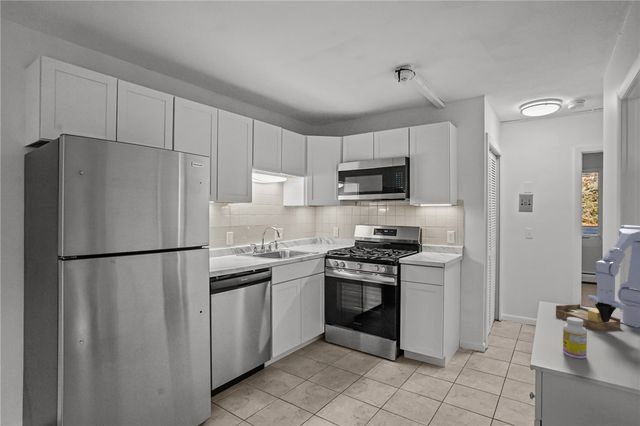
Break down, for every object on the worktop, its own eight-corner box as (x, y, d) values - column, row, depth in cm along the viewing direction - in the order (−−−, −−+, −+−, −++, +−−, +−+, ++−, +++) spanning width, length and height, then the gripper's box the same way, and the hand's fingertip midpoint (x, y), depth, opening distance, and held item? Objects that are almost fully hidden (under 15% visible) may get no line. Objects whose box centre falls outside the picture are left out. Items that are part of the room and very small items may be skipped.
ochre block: (595, 318, 147) (595, 309, 146) (604, 321, 143) (604, 312, 142) (587, 319, 146) (587, 310, 146) (596, 322, 142) (596, 312, 142)
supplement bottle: (563, 349, 122) (564, 314, 122) (586, 354, 118) (587, 318, 118) (562, 355, 117) (562, 319, 117) (586, 361, 113) (586, 323, 113)
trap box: (578, 314, 162) (578, 303, 161) (620, 328, 143) (620, 316, 143) (555, 315, 159) (555, 305, 159) (595, 330, 141) (595, 318, 140)
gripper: (581, 285, 146) (581, 316, 147) (616, 294, 132) (615, 328, 132) (594, 285, 148) (594, 315, 148) (630, 293, 133) (630, 327, 134)
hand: (605, 321), depth 140 cm, fingers closed
